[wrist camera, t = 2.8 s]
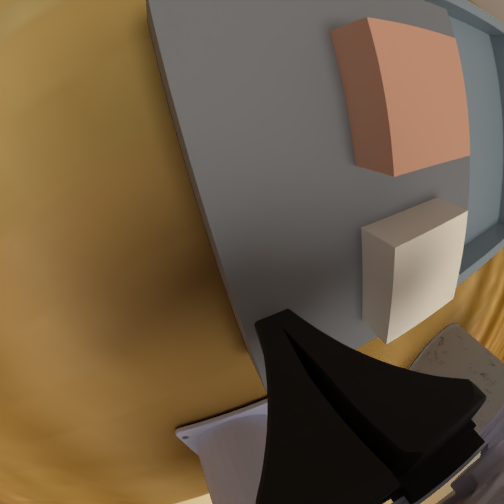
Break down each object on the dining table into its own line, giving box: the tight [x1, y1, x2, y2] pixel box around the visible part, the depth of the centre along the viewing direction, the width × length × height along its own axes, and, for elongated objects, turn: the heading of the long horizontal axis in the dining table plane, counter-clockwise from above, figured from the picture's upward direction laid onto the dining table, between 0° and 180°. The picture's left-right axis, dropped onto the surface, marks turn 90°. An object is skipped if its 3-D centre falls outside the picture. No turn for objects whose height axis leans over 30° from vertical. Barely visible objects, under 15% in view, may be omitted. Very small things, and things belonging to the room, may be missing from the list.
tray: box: [424, 0, 504, 287], centre depth 14 cm, size 20×13×2 cm, turn 13°
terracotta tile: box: [330, 17, 470, 177], centre depth 8 cm, size 5×5×2 cm
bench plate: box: [146, 0, 470, 391], centre depth 11 cm, size 17×14×3 cm
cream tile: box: [361, 197, 468, 344], centre depth 11 cm, size 5×5×2 cm
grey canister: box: [409, 323, 504, 433], centre depth 21 cm, size 10×10×12 cm
